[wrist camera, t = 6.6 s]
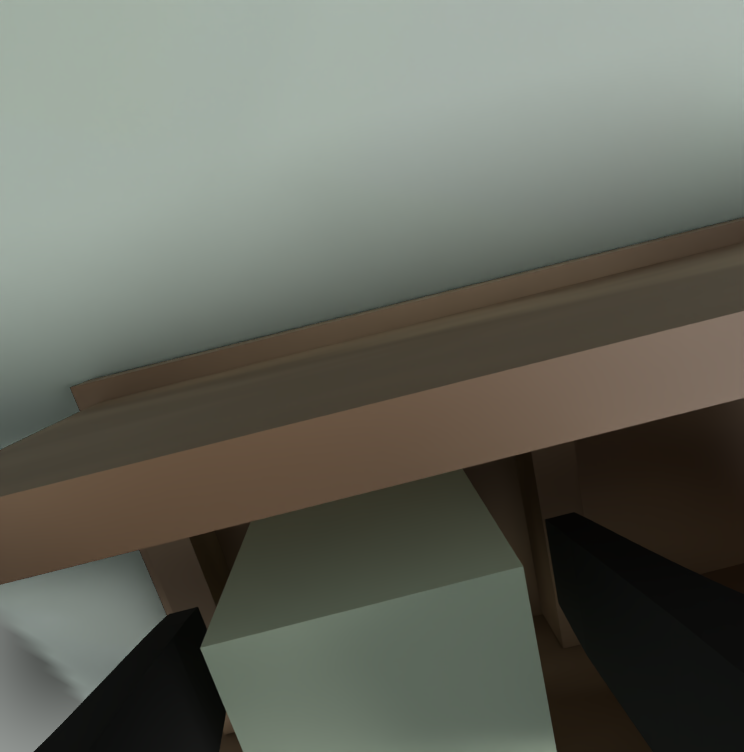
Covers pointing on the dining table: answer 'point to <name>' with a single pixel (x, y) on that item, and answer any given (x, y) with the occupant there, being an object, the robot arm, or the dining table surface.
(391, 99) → the dining table surface
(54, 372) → the dining table surface
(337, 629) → the block
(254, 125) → the dining table surface
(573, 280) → the brown wooden box
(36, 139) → the dining table surface
